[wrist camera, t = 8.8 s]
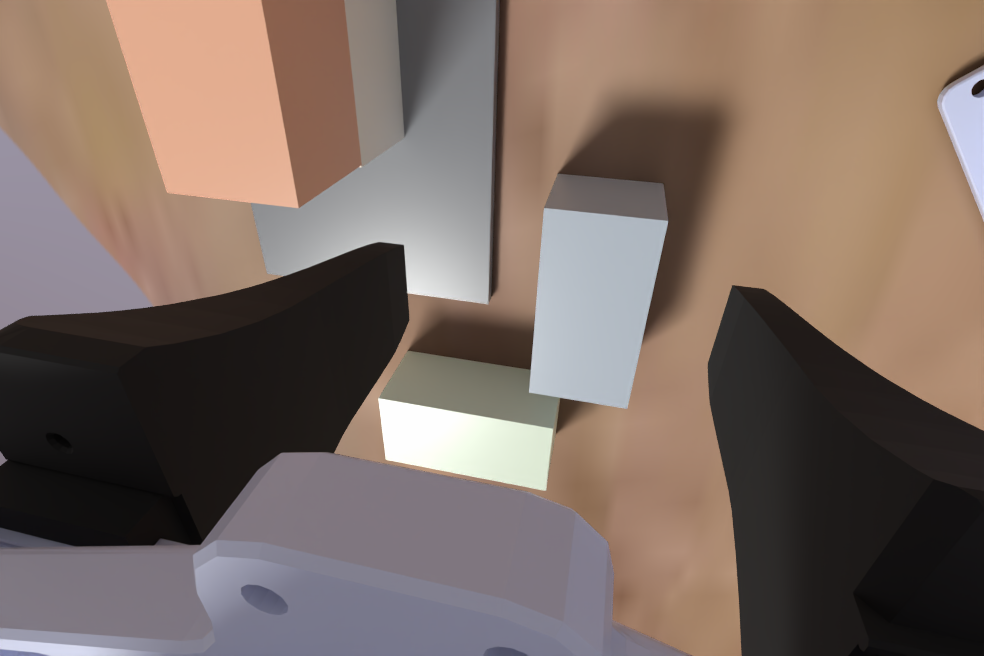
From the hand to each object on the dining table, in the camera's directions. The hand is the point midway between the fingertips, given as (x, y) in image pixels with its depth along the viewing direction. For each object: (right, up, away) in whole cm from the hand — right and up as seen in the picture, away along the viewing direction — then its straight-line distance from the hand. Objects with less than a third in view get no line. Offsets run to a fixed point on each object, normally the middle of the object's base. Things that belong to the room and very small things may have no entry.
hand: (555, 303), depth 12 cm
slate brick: (+3, +2, +11) cm, 11 cm away
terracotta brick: (-8, +8, +4) cm, 12 cm away
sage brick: (-2, -4, +16) cm, 17 cm away
